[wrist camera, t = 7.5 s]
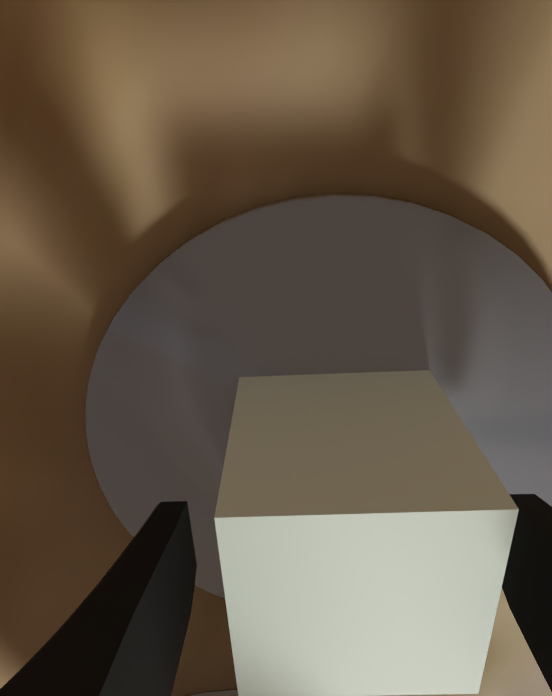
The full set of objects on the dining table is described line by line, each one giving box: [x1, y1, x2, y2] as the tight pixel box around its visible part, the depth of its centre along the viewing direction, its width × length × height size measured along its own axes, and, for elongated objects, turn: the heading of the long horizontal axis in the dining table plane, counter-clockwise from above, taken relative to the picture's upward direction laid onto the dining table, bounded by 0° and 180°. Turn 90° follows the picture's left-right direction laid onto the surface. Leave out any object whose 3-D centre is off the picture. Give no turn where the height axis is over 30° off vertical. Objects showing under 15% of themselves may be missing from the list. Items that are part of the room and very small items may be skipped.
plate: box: [85, 193, 552, 599], centre depth 14 cm, size 14×14×1 cm
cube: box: [214, 370, 519, 696], centre depth 11 cm, size 5×5×5 cm
